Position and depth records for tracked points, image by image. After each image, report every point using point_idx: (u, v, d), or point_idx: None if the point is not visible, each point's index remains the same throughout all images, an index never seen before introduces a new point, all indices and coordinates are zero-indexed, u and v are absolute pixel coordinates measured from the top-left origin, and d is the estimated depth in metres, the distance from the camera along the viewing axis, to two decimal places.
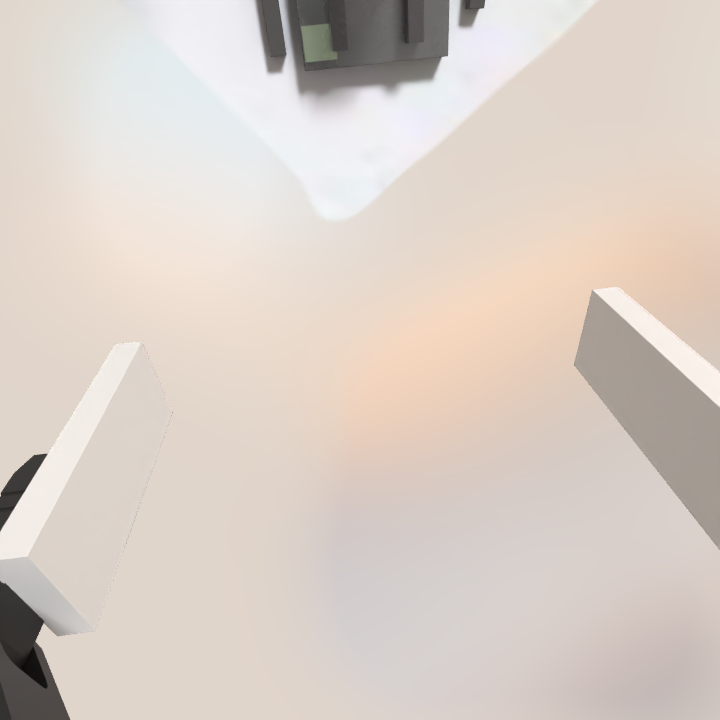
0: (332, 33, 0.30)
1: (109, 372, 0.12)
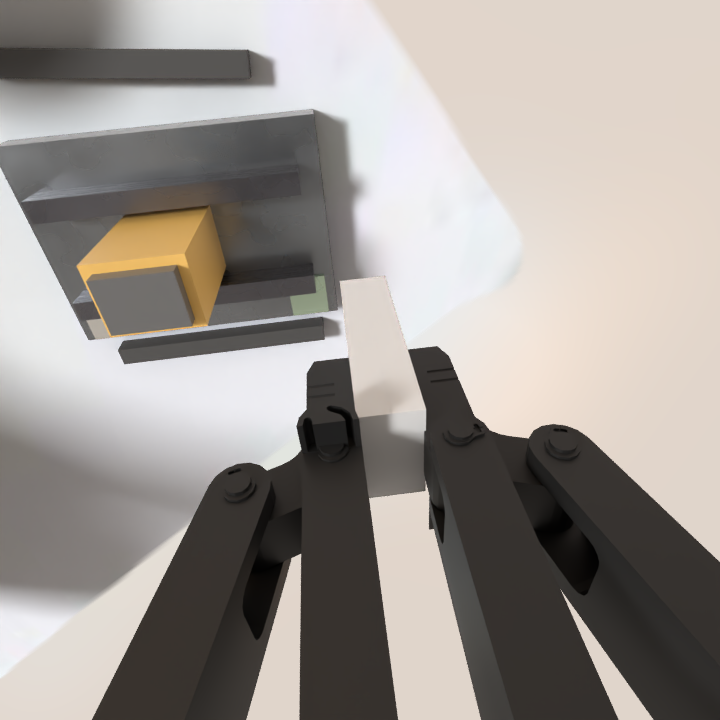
0: (297, 293, 0.24)
1: (353, 299, 0.14)
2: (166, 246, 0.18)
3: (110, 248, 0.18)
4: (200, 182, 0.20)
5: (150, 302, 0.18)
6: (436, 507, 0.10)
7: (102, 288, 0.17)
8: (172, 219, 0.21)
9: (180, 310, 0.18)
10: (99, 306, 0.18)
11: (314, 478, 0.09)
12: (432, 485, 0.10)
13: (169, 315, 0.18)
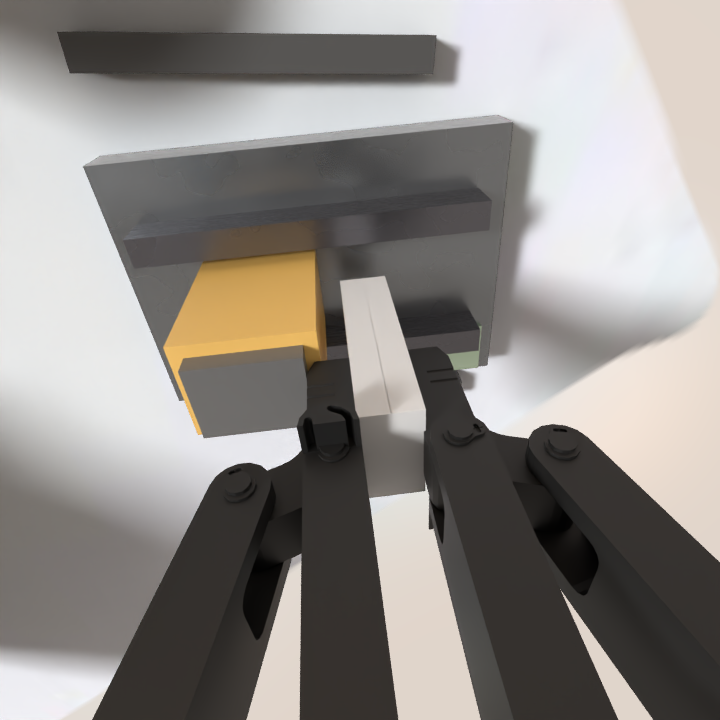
0: (454, 351, 0.19)
1: (353, 300, 0.14)
2: (284, 314, 0.13)
3: (203, 316, 0.13)
4: (360, 214, 0.15)
5: (263, 397, 0.12)
6: (436, 507, 0.10)
7: (199, 380, 0.12)
8: (273, 266, 0.16)
9: (303, 406, 0.13)
10: (191, 402, 0.13)
11: (314, 478, 0.09)
12: (432, 485, 0.10)
13: (286, 412, 0.13)
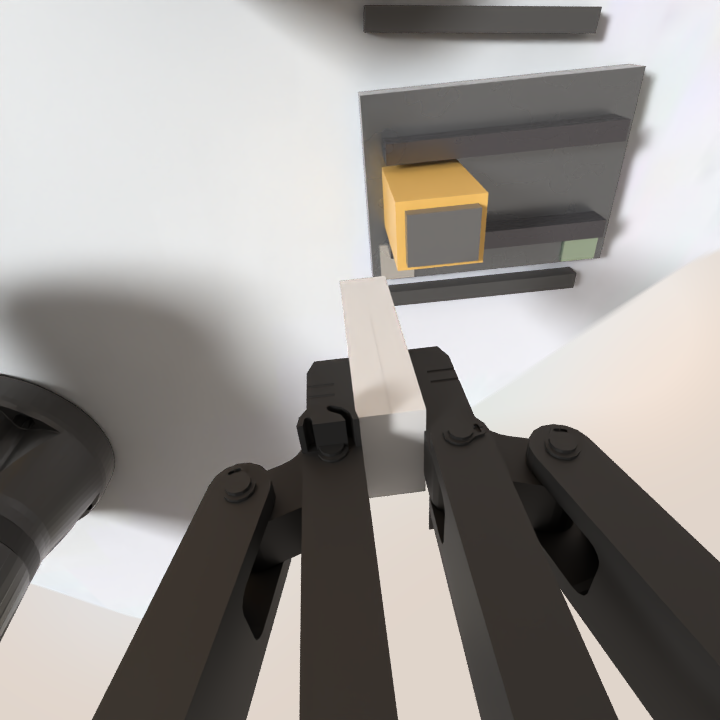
0: (585, 237, 0.26)
1: (353, 299, 0.14)
2: (462, 188, 0.20)
3: (408, 190, 0.21)
4: (542, 128, 0.23)
5: (452, 236, 0.20)
6: (436, 507, 0.10)
7: (417, 222, 0.20)
8: (435, 169, 0.23)
9: (474, 245, 0.20)
10: (407, 240, 0.20)
11: (314, 478, 0.09)
12: (432, 485, 0.10)
13: (463, 249, 0.20)
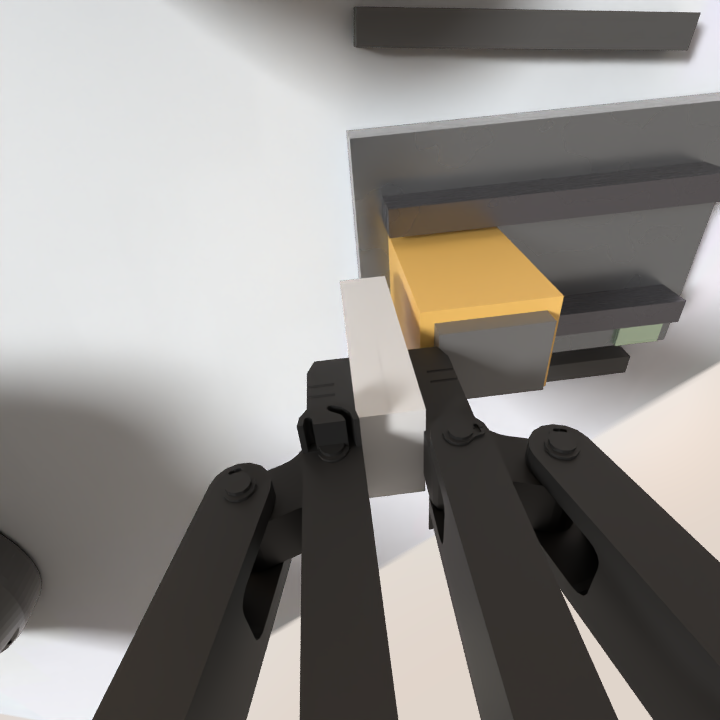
0: (655, 322, 0.19)
1: (353, 300, 0.14)
2: (518, 283, 0.13)
3: (436, 285, 0.14)
4: (611, 185, 0.16)
5: (507, 360, 0.13)
6: (436, 507, 0.10)
7: (456, 343, 0.13)
8: (467, 242, 0.16)
9: (539, 369, 0.13)
10: None
11: (314, 478, 0.09)
12: (432, 485, 0.10)
13: (522, 376, 0.13)
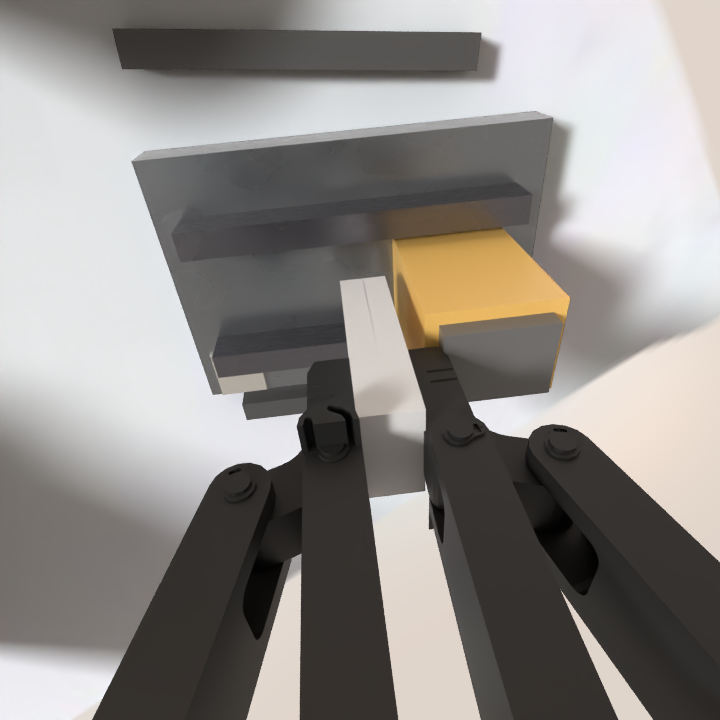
0: None
1: (353, 299, 0.14)
2: (524, 284, 0.13)
3: (441, 286, 0.14)
4: (404, 208, 0.15)
5: (512, 363, 0.13)
6: (436, 507, 0.10)
7: (460, 345, 0.12)
8: (472, 243, 0.16)
9: (544, 372, 0.13)
10: None
11: (314, 478, 0.09)
12: (432, 485, 0.10)
13: (527, 379, 0.13)
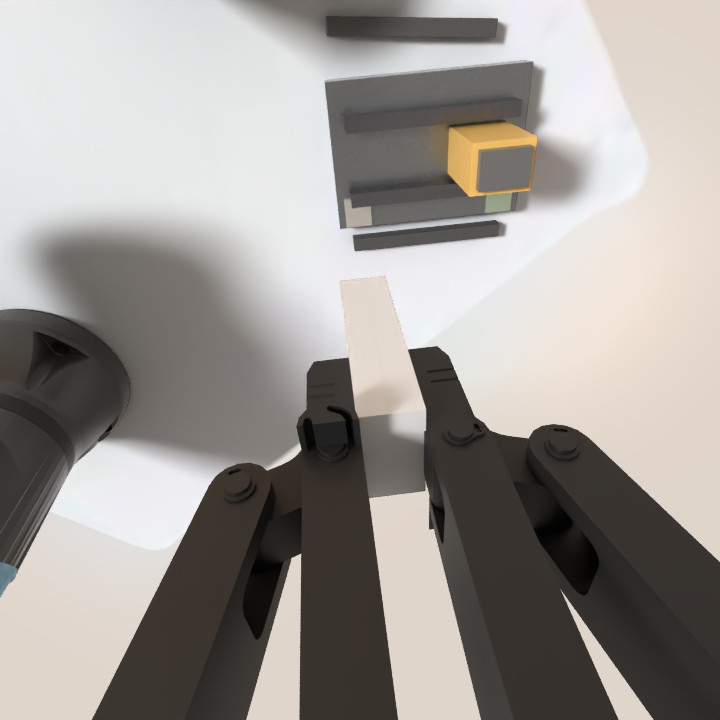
0: None
1: (353, 300, 0.14)
2: (517, 134, 0.29)
3: (478, 137, 0.29)
4: (458, 106, 0.31)
5: (511, 168, 0.28)
6: (436, 507, 0.10)
7: (488, 157, 0.28)
8: (492, 126, 0.31)
9: (526, 175, 0.29)
10: (479, 171, 0.28)
11: (314, 478, 0.09)
12: (432, 485, 0.10)
13: (518, 178, 0.29)
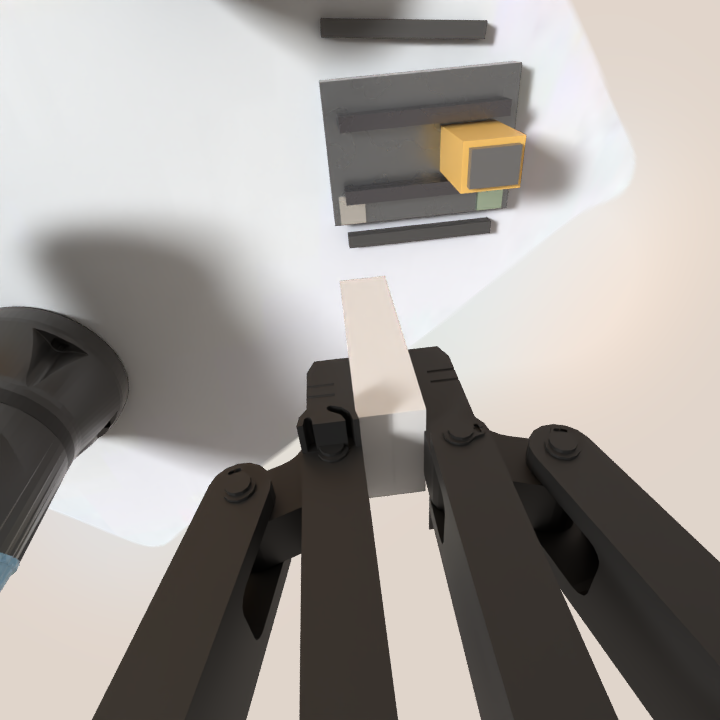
0: None
1: (353, 300, 0.14)
2: (506, 133, 0.30)
3: (469, 135, 0.30)
4: (449, 106, 0.32)
5: (501, 166, 0.29)
6: (436, 507, 0.10)
7: (478, 155, 0.29)
8: (482, 125, 0.32)
9: (516, 172, 0.29)
10: (470, 168, 0.29)
11: (314, 478, 0.09)
12: (432, 485, 0.10)
13: (508, 175, 0.30)
